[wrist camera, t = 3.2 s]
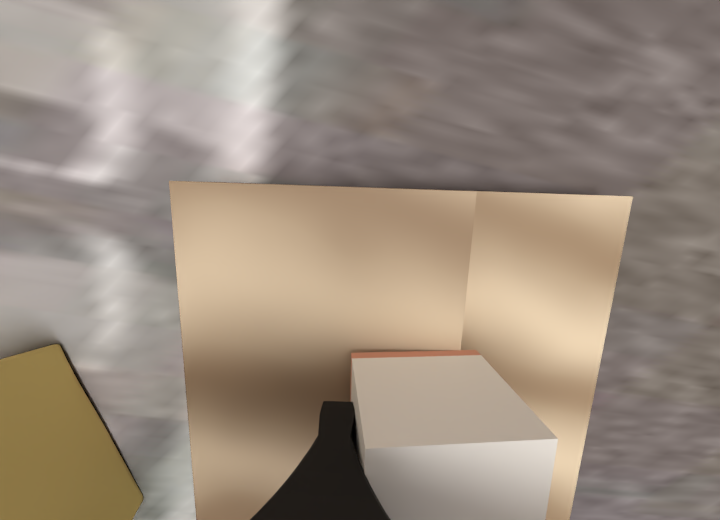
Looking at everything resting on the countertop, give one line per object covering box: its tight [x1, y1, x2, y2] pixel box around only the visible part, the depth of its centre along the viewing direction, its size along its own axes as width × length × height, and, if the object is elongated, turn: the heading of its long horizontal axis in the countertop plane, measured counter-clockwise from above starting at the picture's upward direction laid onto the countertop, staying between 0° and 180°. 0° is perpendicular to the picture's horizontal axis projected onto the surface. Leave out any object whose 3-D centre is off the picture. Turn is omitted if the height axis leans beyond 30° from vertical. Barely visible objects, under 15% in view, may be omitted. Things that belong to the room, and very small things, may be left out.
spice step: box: [169, 181, 633, 520], centre depth 15 cm, size 16×16×4 cm
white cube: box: [350, 350, 558, 520], centre depth 10 cm, size 4×4×4 cm
